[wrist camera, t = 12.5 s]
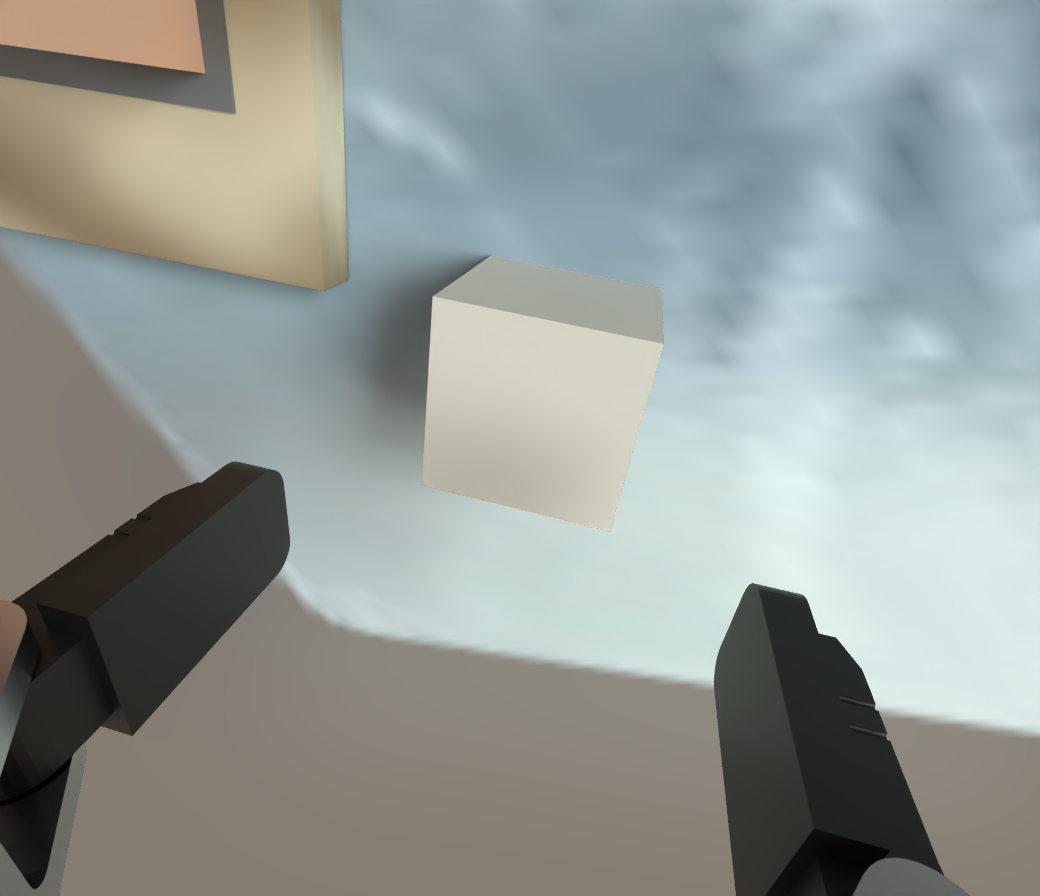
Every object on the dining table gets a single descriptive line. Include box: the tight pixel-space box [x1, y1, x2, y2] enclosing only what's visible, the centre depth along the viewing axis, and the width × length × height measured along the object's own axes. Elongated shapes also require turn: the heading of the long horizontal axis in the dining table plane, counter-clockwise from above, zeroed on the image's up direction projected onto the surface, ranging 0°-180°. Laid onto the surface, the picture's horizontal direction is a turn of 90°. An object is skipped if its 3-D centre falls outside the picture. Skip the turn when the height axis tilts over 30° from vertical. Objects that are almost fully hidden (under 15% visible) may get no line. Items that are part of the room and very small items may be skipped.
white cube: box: [422, 255, 664, 532], centre depth 15 cm, size 5×5×5 cm
